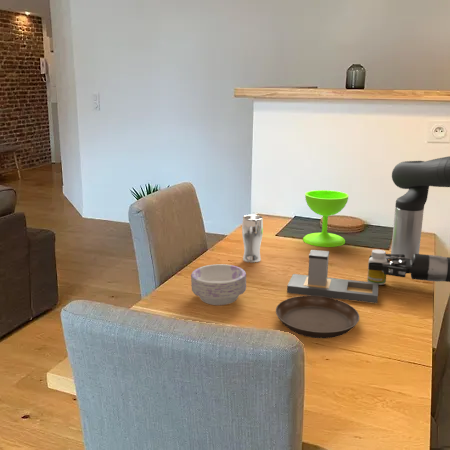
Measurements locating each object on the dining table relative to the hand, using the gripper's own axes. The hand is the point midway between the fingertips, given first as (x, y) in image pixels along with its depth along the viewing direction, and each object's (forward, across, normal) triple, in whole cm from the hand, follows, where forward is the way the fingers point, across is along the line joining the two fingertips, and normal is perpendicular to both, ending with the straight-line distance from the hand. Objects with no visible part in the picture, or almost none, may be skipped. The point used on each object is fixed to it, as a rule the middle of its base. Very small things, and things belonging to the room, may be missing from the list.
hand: (369, 262), depth 157 cm
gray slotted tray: (+9, +10, +6) cm, 15 cm away
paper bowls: (+39, +25, +6) cm, 47 cm away
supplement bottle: (-3, 0, +6) cm, 7 cm away
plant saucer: (+11, +32, +7) cm, 35 cm away
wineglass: (+17, -40, +7) cm, 44 cm away
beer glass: (+38, -10, +7) cm, 40 cm away
